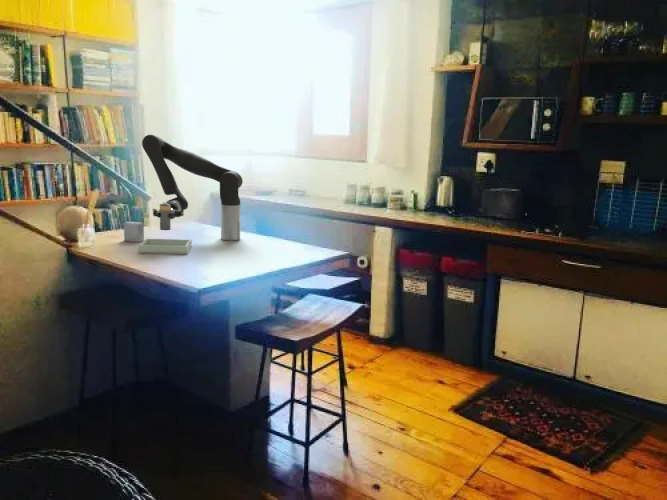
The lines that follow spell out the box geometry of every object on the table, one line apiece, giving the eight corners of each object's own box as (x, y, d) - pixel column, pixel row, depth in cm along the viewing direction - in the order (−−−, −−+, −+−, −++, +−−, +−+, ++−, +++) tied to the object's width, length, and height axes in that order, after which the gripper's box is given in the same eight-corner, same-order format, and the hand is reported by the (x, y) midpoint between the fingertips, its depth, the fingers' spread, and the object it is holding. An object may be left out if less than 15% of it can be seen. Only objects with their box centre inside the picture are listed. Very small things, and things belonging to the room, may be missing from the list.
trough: (191, 247, 256) (191, 239, 255) (187, 254, 241) (186, 246, 240) (146, 246, 253) (146, 238, 253) (138, 253, 239) (138, 245, 238)
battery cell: (171, 228, 248) (171, 202, 245) (169, 230, 243) (169, 203, 241) (160, 228, 247) (160, 201, 245) (159, 230, 243) (158, 203, 240)
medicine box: (144, 240, 265) (144, 222, 263) (138, 242, 261) (138, 224, 259) (129, 239, 267) (129, 221, 265) (124, 240, 263) (123, 222, 261)
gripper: (155, 201, 257) (147, 206, 240) (186, 202, 258) (181, 207, 242) (155, 217, 258) (147, 223, 242) (186, 218, 260) (181, 224, 243)
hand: (164, 215), depth 242 cm, fingers closed on battery cell, 4 cm apart
